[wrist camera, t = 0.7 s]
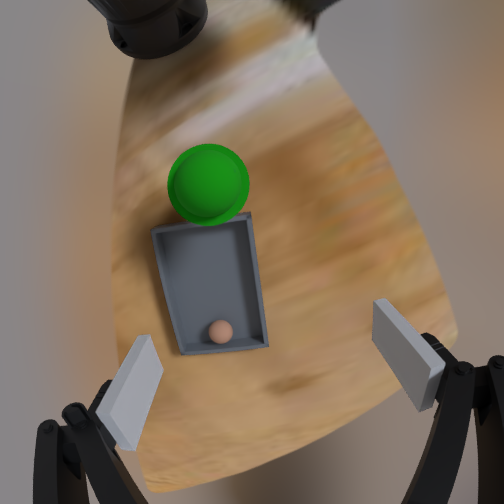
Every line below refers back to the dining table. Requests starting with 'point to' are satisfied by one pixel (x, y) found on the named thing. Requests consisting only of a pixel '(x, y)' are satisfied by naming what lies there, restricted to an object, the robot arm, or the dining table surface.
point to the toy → (208, 184)
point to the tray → (211, 283)
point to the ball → (220, 331)
